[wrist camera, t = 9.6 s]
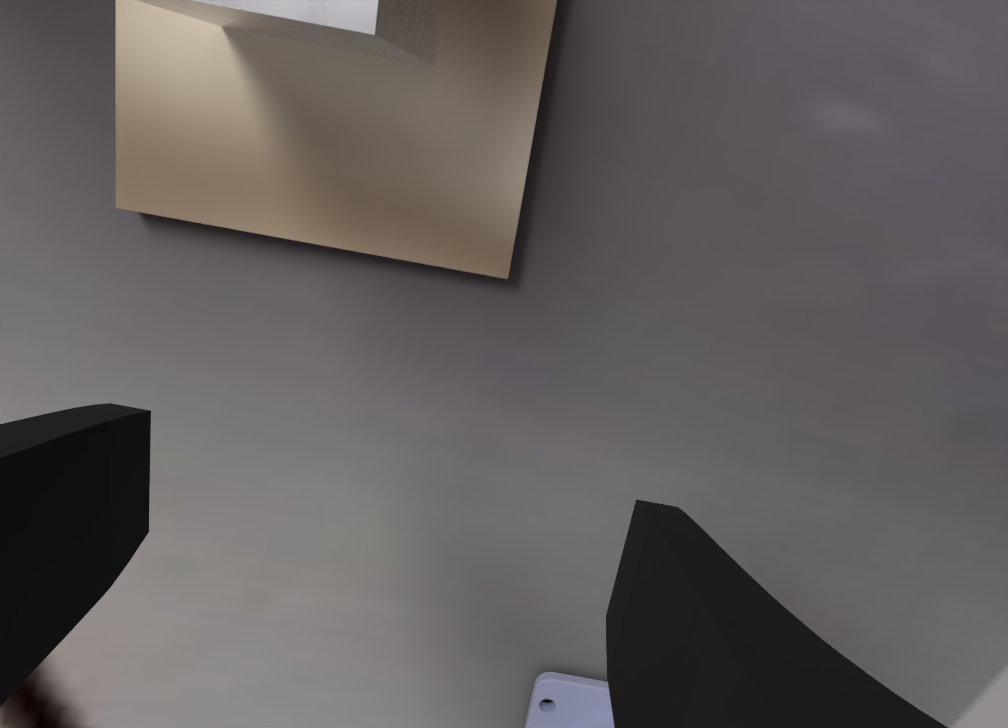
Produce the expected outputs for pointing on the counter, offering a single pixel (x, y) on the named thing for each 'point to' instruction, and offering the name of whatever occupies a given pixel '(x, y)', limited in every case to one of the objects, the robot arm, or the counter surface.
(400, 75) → the board
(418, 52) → the brushed gray cube
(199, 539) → the counter surface
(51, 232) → the counter surface
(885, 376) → the counter surface
